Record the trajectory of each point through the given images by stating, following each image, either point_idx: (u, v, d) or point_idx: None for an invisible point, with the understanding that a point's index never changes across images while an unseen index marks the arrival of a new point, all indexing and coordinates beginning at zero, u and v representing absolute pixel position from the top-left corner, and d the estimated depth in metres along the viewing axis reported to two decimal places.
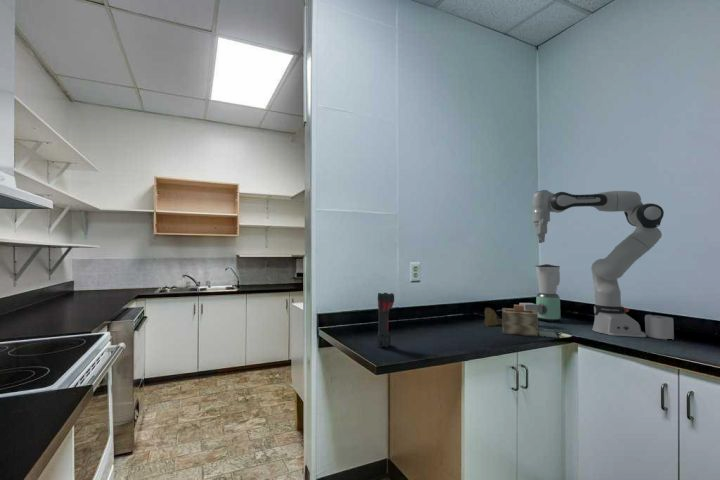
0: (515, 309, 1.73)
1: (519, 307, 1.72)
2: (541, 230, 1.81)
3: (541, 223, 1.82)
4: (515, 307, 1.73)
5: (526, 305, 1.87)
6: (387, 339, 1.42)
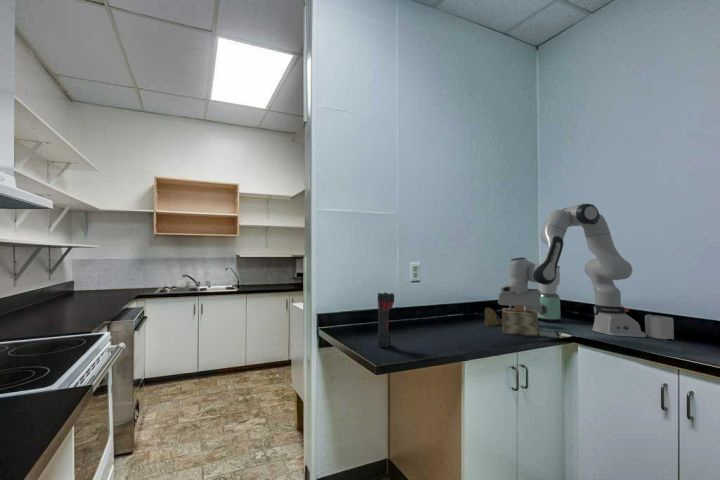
0: (515, 309, 1.73)
1: (519, 307, 1.72)
2: None
3: (539, 296, 1.70)
4: (515, 307, 1.73)
5: None
6: (387, 339, 1.42)
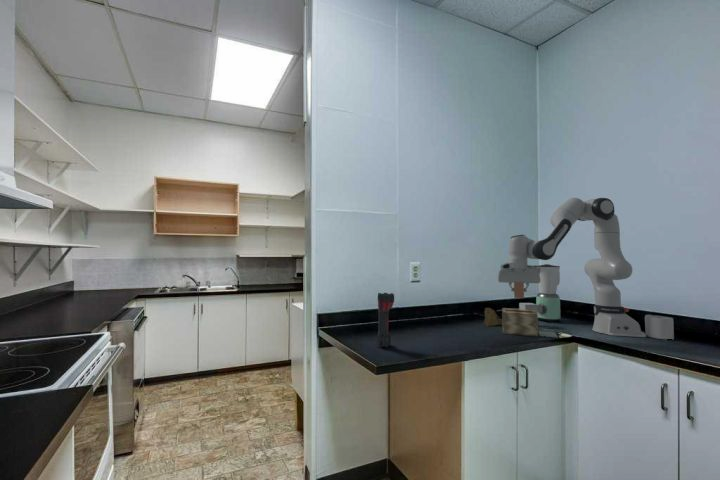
0: (515, 286, 1.73)
1: (519, 284, 1.72)
2: None
3: (538, 272, 1.70)
4: (515, 284, 1.73)
5: (526, 305, 1.87)
6: (387, 339, 1.42)
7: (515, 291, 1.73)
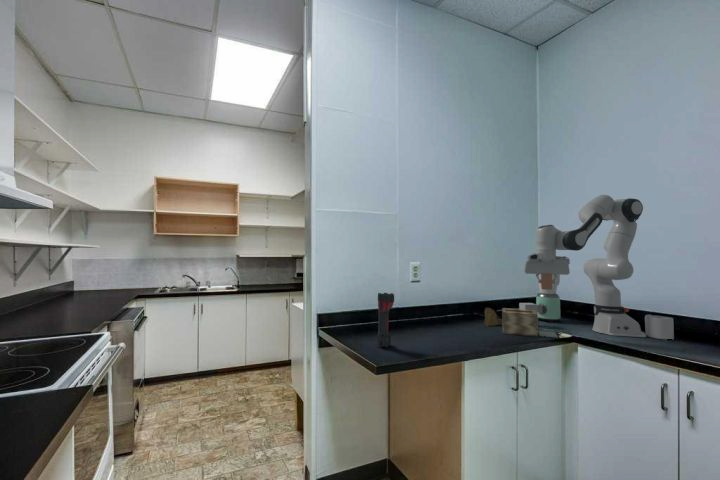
0: (543, 277, 1.68)
1: (547, 275, 1.68)
2: None
3: (568, 263, 1.65)
4: (543, 275, 1.68)
5: (526, 305, 1.87)
6: (387, 339, 1.42)
7: (543, 282, 1.68)
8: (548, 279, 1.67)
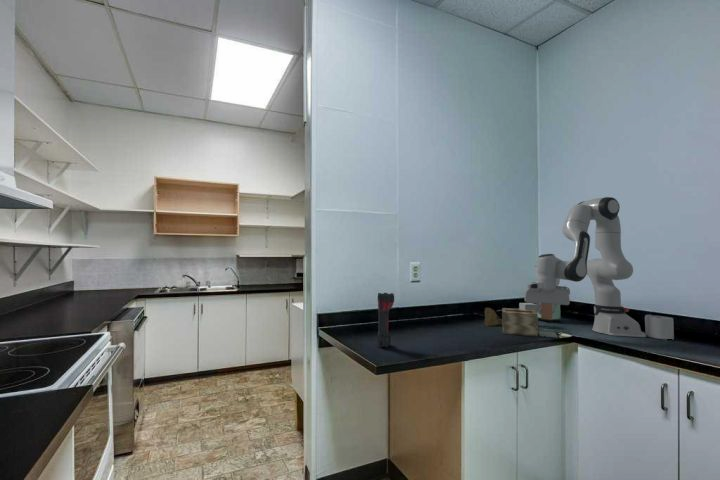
0: (543, 307, 1.67)
1: (547, 305, 1.67)
2: (569, 301, 1.64)
3: (568, 293, 1.65)
4: (543, 305, 1.68)
5: (526, 305, 1.87)
6: (387, 339, 1.42)
7: (543, 312, 1.67)
8: (548, 309, 1.67)
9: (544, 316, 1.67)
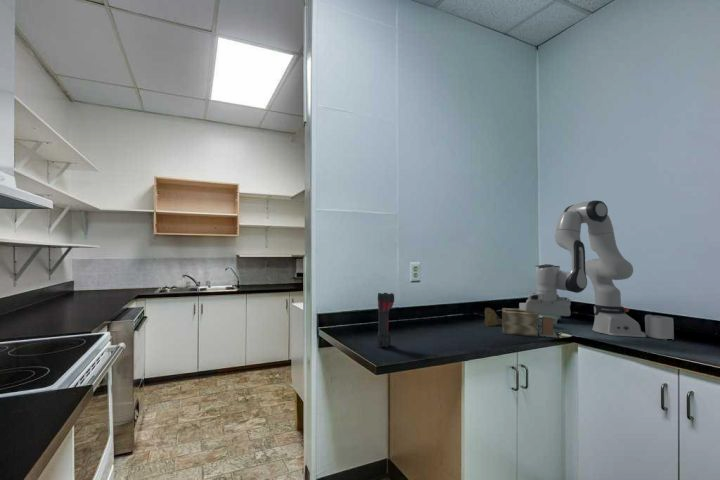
0: (544, 322, 1.67)
1: (548, 320, 1.66)
2: None
3: (569, 305, 1.64)
4: (544, 320, 1.67)
5: None
6: (387, 339, 1.42)
7: (544, 327, 1.67)
8: (549, 324, 1.66)
9: (545, 331, 1.67)
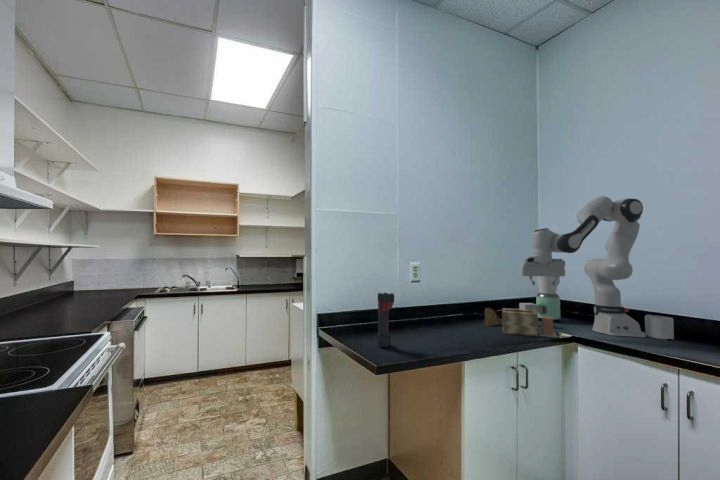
0: (544, 322, 1.67)
1: (548, 320, 1.66)
2: None
3: (563, 265, 1.71)
4: (544, 320, 1.67)
5: (526, 305, 1.87)
6: (387, 339, 1.42)
7: (544, 327, 1.67)
8: (549, 324, 1.66)
9: (545, 331, 1.67)
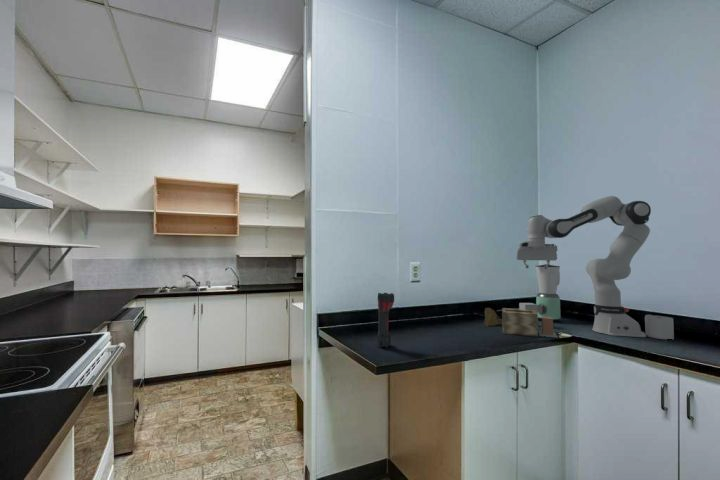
0: (544, 322, 1.67)
1: (548, 320, 1.66)
2: None
3: (555, 250, 1.82)
4: (544, 320, 1.67)
5: (526, 305, 1.87)
6: (387, 339, 1.42)
7: (544, 327, 1.67)
8: (549, 324, 1.66)
9: (545, 331, 1.67)
